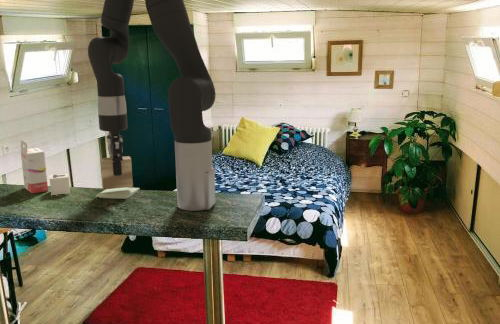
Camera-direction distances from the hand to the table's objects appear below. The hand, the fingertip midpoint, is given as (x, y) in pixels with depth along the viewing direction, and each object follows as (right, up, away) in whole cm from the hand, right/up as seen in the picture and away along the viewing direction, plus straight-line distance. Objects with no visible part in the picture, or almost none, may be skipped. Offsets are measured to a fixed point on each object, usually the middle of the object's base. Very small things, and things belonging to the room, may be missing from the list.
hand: (116, 173), depth 137 cm
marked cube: (-17, -6, +3) cm, 18 cm away
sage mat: (0, -6, +1) cm, 6 cm away
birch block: (0, -4, +1) cm, 4 cm away
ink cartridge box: (-25, -5, +7) cm, 27 cm away
